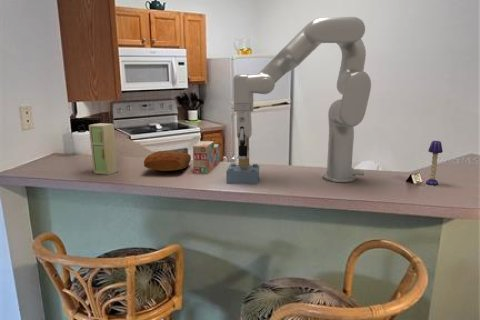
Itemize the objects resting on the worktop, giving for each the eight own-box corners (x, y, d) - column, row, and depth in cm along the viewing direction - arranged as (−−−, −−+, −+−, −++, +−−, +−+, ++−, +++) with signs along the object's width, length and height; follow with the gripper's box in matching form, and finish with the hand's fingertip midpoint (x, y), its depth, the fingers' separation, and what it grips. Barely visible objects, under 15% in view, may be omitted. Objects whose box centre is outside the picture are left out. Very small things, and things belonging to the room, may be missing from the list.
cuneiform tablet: (180, 177, 144) (179, 158, 142) (140, 176, 146) (139, 157, 144) (193, 164, 165) (193, 148, 163) (159, 164, 167) (158, 147, 165)
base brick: (259, 177, 144) (259, 163, 142) (257, 184, 134) (257, 169, 133) (230, 176, 145) (230, 162, 144) (226, 183, 136) (226, 168, 134)
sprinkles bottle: (251, 166, 138) (251, 132, 135) (242, 168, 135) (242, 133, 132) (245, 164, 141) (244, 131, 138) (235, 165, 139) (235, 132, 136)
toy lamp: (437, 186, 130) (443, 142, 127) (423, 184, 133) (429, 141, 129) (438, 183, 134) (444, 140, 131) (425, 181, 137) (430, 139, 133)
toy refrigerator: (92, 173, 150) (87, 124, 145) (104, 169, 157) (100, 122, 152) (106, 175, 147) (102, 125, 143) (118, 171, 154) (114, 123, 149)
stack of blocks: (207, 162, 171) (207, 137, 168) (220, 163, 169) (219, 137, 167) (193, 173, 150) (192, 145, 147) (207, 174, 149) (206, 146, 146)
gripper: (251, 109, 125) (251, 159, 129) (255, 106, 141) (255, 150, 145) (230, 109, 125) (231, 159, 130) (236, 106, 142) (237, 150, 146)
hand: (243, 154), depth 137 cm, fingers open, 4 cm apart
